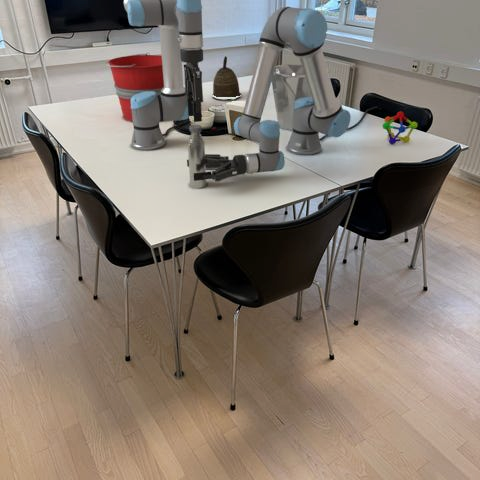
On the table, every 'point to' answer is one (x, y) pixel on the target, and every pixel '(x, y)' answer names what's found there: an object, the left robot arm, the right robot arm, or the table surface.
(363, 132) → the table surface
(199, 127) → the cap
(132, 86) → the bucket
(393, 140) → the educational toy
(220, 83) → the bell
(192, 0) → the left robot arm
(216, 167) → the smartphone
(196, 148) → the bottle
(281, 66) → the bucket
